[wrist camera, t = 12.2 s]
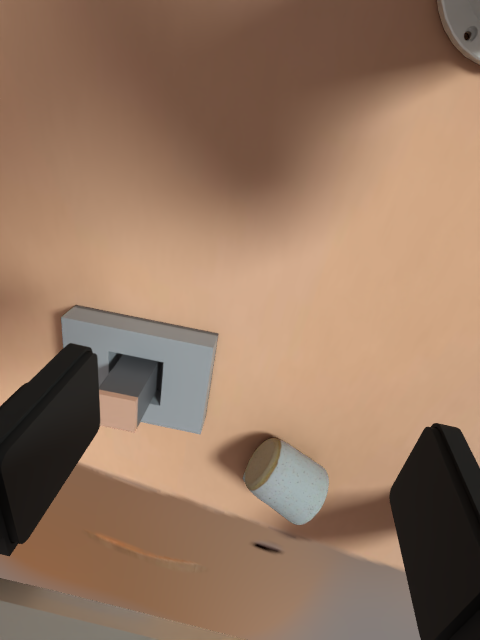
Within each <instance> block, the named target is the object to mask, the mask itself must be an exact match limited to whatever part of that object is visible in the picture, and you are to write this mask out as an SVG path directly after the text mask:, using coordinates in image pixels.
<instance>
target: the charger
mask: <svg viewBox="0 0 480 640" xmlns="http://www.w3.org/2000/svg"><path fill="white" fill-rule="evenodd" d="M160 373H161V362H159V361H154V360H149V359H145V358H140V357H135V356H130V355H125V354H123V355H122V357H121V358H120V359H119V361H118V362H117V363H116V365H115V366H114V367H113V369H112V370H111V371H110V373H109V374H108V375H107V377H106V378H105V379H104V381H103V382H102V384H101V385H100V386H99V400H100V426H104V427H109V428H114V429H119V430H124V431H129V432H133V433H135V431H136V429H137V427H138V425H139V423H140V422H141V420H142V418H143V416H144V414H145V412H146V410H147V408H148V406H149V404H150V402H151V400H152V398H153V396H154V394H155V392H156V390H157V388H158V386H159V384H160Z"/></svg>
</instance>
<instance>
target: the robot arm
mask: <svg viewBox="0 0 480 640" xmlns="http://www.w3.org/2000/svg"><path fill="white" fill-rule="evenodd" d="M437 5H438V12H439V15H440V18H441V21H442V24H443V27H444V30H445V32H446V33H447V35H448V37H449V38H450V40H451V42H452V44H453V45H454V46H455V47H456V48H457V49H458V50H459V51H460V52H461V53H462V54H463V55H464V56H465V57H467V58H468V59H470V60H472V61H473V62H475V63H477V64H479V65H480V0H437ZM466 32H467V33H468V34H469V38H468V40H465V39H464V33H466ZM99 426H100V400H99V378H98V358H97V354H95V353H93V352H92V349H91V348H90V347H87V346H82V345H78V344H73V343H69V344H68V345H66V346H65V347H64V348H63V349H62V350H61V351H60V352H59V353H58V354H57V355H56V356H55V357H54V358H53V359H52V360H51V361H50V362H49V363H48V364H47V365H46V366H45V367H44V368H43V369H42V370H41V371H40V372H39V373H38V374H37V375H36V376H35V377H33V378H32V379H31V380H30V381H29V382H28V383H25V384H24V385H23V386H21V387H20V388H19V389H18V390H17V391H16V392H15V393H14V394H13V395H12V396H11V397H10V398H9V399H8V400H7V401H6V402H4V403H3V404H2V405H1V406H0V554H2V555H7V556H10V555H11V553H12V552H13V550H14V549H15V547H16V546H17V544H18V543H19V544H23V543H24V542H26V540H27V539H28V538H29V537H30V535H31V534H32V532H33V530H34V529H35V527H36V526H37V524H38V523H39V521H40V520H41V518H42V517H43V515H44V514H45V512H46V510H47V509H48V507H49V506H50V504H51V503H52V501H53V500H54V498H55V497H56V495H57V494H58V492H59V490H60V489H61V487H62V486H63V484H64V483H65V481H66V480H67V478H68V477H69V475H70V474H71V472H72V471H73V469H74V467H75V466H76V464H77V463H78V461H79V460H80V458H81V457H82V455H83V454H84V452H85V451H86V449H87V447H88V446H89V444H90V443H91V441H92V440H93V438H94V437H95V435H96V434H97V432H98V429H99ZM390 504H391V509H392V513H393V518H394V522H395V527H396V531H397V536H398V540H399V545H400V549H401V554H402V558H403V563H404V567H405V572H406V576H407V581H408V585H409V590H410V594H411V598H412V603H413V608H414V612H415V617H416V621H417V626H418V630H419V634H420V638H421V640H480V468H479V466H478V464H477V462H476V460H475V458H474V456H473V454H472V452H471V450H470V448H469V446H468V444H467V442H466V440H465V438H464V436H463V434H462V432H461V430H460V429H458V428H456V427H452V426H447V425H443V424H438V423H435V424H433V425H432V426H431V427H426V428H425V429H424V430H423V432H422V434H421V436H420V437H419V439H418V441H417V443H416V445H415V446H414V448H413V450H412V452H411V453H410V455H409V457H408V459H407V461H406V462H405V464H404V466H403V468H402V470H401V471H400V473H399V475H398V477H397V478H396V480H395V482H394V484H393V486H392V487H391V490H390ZM0 640H246V639H242V638H238V637H234V636H230V635H227V634H223V633H219V632H215V631H211V630H207V629H203V628H199V627H196V626H192V625H188V624H184V623H180V622H176V621H172V620H168V619H164V618H160V617H156V616H153V615H148V614H145V613H141V612H136V611H133V610H129V609H125V608H121V607H116V606H113V605H109V604H104V603H101V602H97V601H93V600H89V599H85V598H81V597H77V596H73V595H69V594H65V593H61V592H57V591H53V590H49V589H45V588H40V587H36V586H31V585H28V584H23V583H19V582H14V581H10V580H6V579H2V578H0Z"/></svg>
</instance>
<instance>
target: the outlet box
mask: <svg viewBox="0 0 480 640" xmlns="http://www.w3.org/2000/svg"><path fill="white" fill-rule="evenodd" d="M61 323H62V337H63V348H64V347H65V346H66V345H68V344H69V343H73V344H78V345H82V346H87V347H90V348H91V349H92V352H93V353H95V354H97V358H98V378H99V386H100V385H101V384H102V382H103V381H104V379H105V378H106V377H107V375H108V374H109V373H110V371H111V370H112V369H113V367H114V366H115V365H116V363H117V362H118V361H119V359H120V358H121V357H122V355H123V354H125V355H130V356H135V357H140V358H145V359H149V360H154V361H159V362H161V373H160V384H159V386H158V388H157V390H156V392H155V394H154V396H153V398H152V400H151V402H150V404H149V406H148V408H147V410H146V412H145V414H144V416H143V418H142V420H141V422H144V423H149V424H153V425H158V426H163V427H168V428H172V429H177V430H182V431H187V432H192V433H196V434H201V431H202V428H203V424H204V421H205V418H206V412H207V405H208V399H209V392H210V386H211V379H212V373H213V366H214V360H215V353H216V347H217V341H218V333H213V332H208V331H203V330H198V329H193V328H188V327H183V326H178V325H173V324H168V323H163V322H158V321H153V320H148V319H143V318H138V317H133V316H128V315H123V314H118V313H113V312H108V311H103V310H98V309H93V308H88V307H83V306H78V305H75V306H74V307H73V308H72V309H70V310H69V311H68V312H67V313H66V314H64V315H63V316H62V317H61Z"/></svg>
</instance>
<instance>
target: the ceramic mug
mask: <svg viewBox="0 0 480 640" xmlns="http://www.w3.org/2000/svg"><path fill="white" fill-rule="evenodd" d="M243 480H244V482H245V484H246V486H247V488H248V489H249V490H250V491H251V492H252V493H253V494H254V495H255V496H256V497H257V498H259V499H260V500H261V501H263V502H264V503H266V504H267V505H269V506H270V507H271V508H273V509H274V510H275V511H277V512H278V513H279V514H281V515H282V516H283V517H284V518H286V519H287V520H288V521H290V522H291V523H293V524H296V525H302V524H305V523H307V522H309V521H310V520H311V519H312V518H313V517H314V516H315V515H316V514H317V513H318V512H319V510H320V509H321V507H322V505H323V503H324V501H325V498H326V496H327V492H328V485H329V479H328V474H327V472H326V470H325V469H324V468H323V467H322V466H321V465H319V464H317V463H316V462H314V461H313V460H312V459H310V458H309V457H307V456H306V455H304V454H303V453H301V452H299V451H298V450H296V449H295V448H294V447H292V446H291V445H289V444H288V443H286V442H285V441H282V440H280V439H277V438H271V439H268V440H266V441H264V442H263V443H262V444H261V445H260V446H259V447H258V448H257V449H256V450H255V452H254V453H253V455H252V457H251V458H250V460H249V462H248V465H247V468H246V470H245V473H244V475H243Z"/></svg>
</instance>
